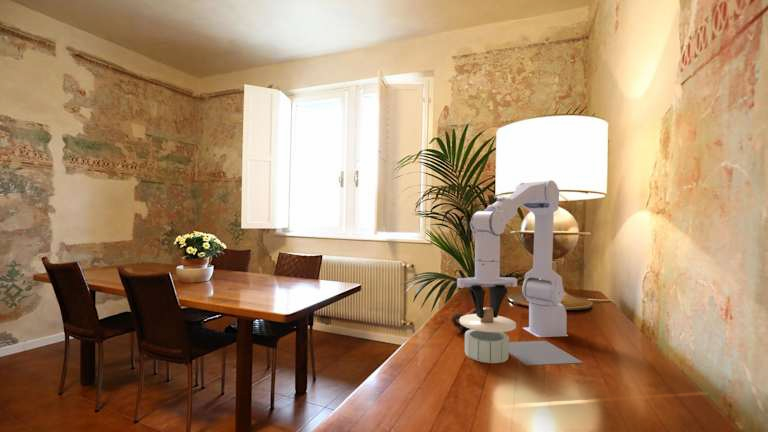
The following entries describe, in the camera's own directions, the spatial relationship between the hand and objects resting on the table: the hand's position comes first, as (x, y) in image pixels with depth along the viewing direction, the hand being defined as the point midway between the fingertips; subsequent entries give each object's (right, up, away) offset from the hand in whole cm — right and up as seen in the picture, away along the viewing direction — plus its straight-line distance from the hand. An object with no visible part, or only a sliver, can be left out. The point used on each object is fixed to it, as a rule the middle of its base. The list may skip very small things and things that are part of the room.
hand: (486, 316), depth 82 cm
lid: (0, -2, 0) cm, 2 cm away
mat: (+13, -10, +2) cm, 16 cm away
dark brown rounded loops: (+1, -10, +16) cm, 18 cm away
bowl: (0, -9, 0) cm, 9 cm away
